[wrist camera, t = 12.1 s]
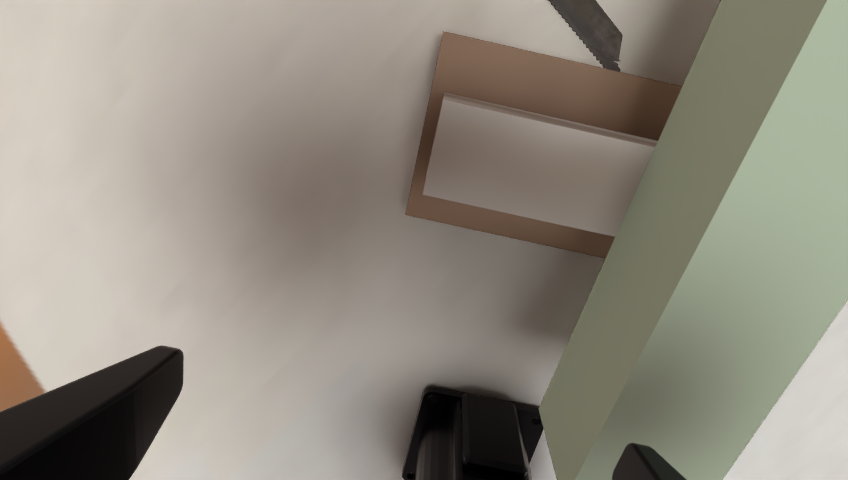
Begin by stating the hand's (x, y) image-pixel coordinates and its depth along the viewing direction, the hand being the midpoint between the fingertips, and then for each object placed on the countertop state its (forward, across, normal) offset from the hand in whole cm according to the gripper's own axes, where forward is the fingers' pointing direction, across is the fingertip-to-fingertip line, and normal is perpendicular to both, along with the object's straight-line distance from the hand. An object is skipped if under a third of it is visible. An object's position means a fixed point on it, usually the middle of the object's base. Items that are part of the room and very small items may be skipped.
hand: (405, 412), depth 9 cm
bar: (+7, -8, -4) cm, 11 cm away
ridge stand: (+12, -8, -4) cm, 15 cm away
